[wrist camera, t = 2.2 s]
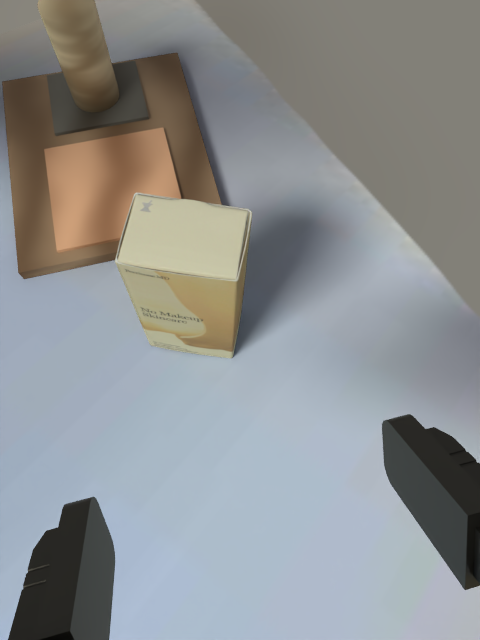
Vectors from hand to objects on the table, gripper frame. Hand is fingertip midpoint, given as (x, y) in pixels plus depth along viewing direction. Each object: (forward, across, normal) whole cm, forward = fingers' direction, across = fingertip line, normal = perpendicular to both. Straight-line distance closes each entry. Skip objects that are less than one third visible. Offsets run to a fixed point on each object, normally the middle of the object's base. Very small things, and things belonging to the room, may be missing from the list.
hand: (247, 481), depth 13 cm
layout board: (+33, +4, -8) cm, 34 cm away
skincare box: (+21, 0, +4) cm, 22 cm away
